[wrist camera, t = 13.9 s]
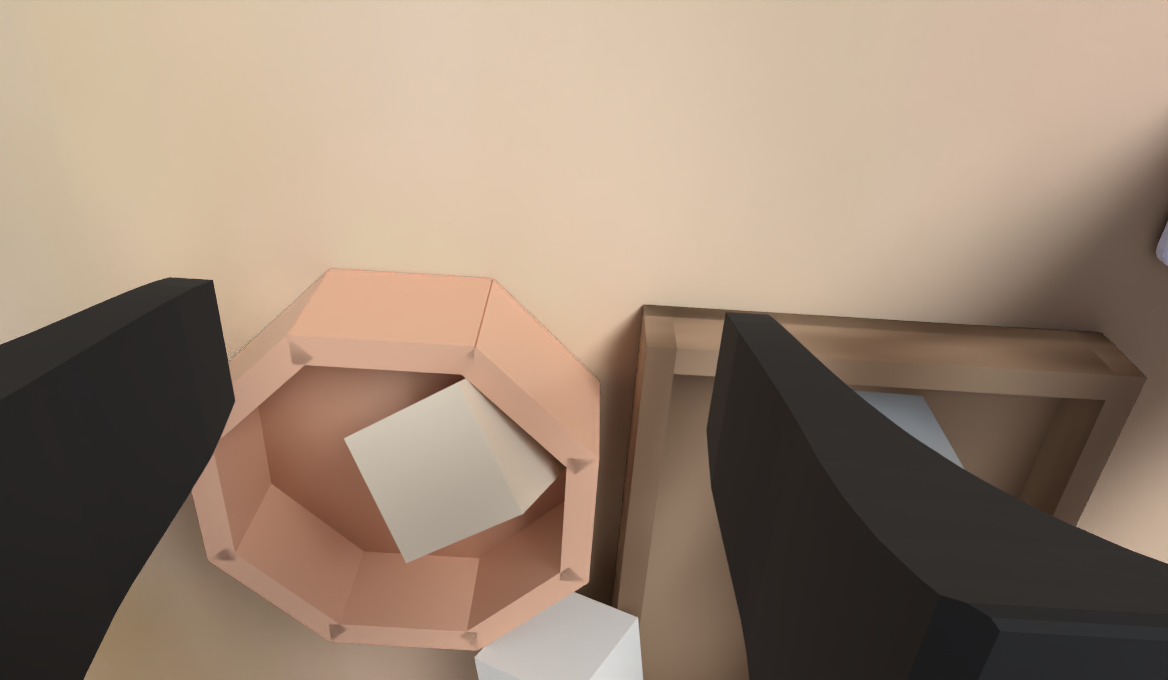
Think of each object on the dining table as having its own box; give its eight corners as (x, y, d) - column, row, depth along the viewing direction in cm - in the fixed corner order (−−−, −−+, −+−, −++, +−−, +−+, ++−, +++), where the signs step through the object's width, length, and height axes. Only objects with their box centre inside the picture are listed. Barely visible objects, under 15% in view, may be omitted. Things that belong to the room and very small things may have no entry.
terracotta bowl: (607, 285, 22) (608, 354, 19) (584, 568, 28) (582, 656, 25) (213, 261, 22) (152, 326, 19) (267, 549, 28) (225, 636, 25)
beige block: (566, 467, 23) (511, 356, 23) (523, 513, 19) (457, 382, 19) (464, 512, 24) (411, 405, 24) (405, 563, 20) (343, 438, 20)
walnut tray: (1101, 333, 23) (1147, 377, 21) (944, 698, 31) (966, 754, 29) (643, 304, 23) (646, 346, 21) (603, 678, 31) (603, 733, 29)
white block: (570, 704, 23) (582, 788, 24) (638, 617, 25) (644, 698, 27) (474, 657, 24) (490, 738, 26) (546, 581, 27) (557, 659, 28)
